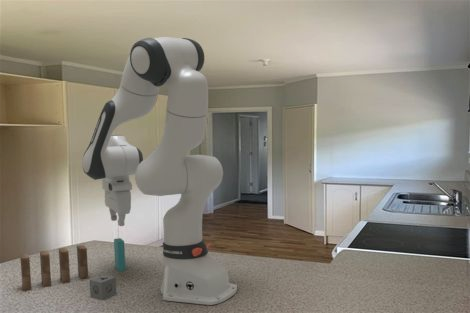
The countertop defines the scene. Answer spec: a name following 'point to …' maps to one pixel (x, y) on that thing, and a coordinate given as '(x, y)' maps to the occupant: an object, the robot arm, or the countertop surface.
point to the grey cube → (103, 287)
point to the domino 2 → (45, 268)
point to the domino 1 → (25, 272)
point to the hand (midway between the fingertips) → (117, 222)
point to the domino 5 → (119, 254)
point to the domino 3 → (64, 265)
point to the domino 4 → (82, 262)
